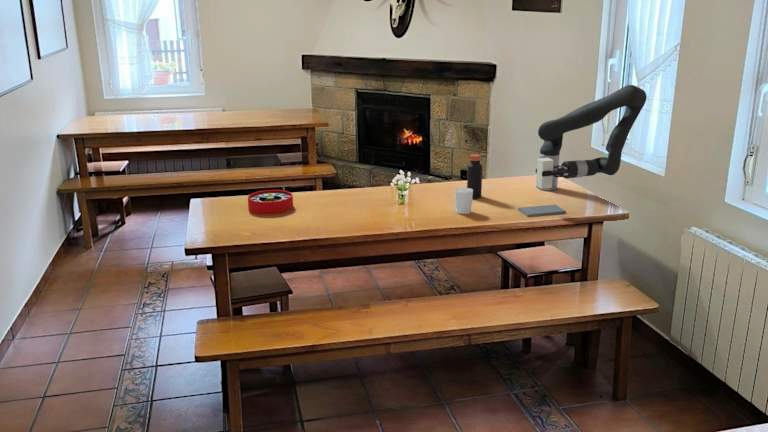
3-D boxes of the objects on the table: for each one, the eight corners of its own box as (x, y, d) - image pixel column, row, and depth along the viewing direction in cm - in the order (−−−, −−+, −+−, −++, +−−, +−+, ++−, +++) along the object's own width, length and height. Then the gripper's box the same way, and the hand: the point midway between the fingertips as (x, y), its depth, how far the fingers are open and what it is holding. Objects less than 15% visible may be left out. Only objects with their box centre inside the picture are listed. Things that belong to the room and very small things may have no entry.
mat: (527, 216, 295) (527, 214, 295) (517, 209, 304) (517, 207, 304) (565, 213, 299) (565, 210, 299) (554, 206, 308) (555, 204, 308)
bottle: (480, 199, 321) (482, 157, 314) (466, 198, 322) (467, 156, 316) (481, 195, 327) (483, 153, 321) (467, 194, 328) (468, 153, 322)
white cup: (474, 210, 305) (474, 188, 302) (470, 215, 298) (470, 193, 294) (456, 208, 307) (457, 187, 304) (452, 213, 300) (452, 191, 297)
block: (541, 188, 295) (543, 161, 291) (535, 185, 300) (537, 158, 296) (551, 187, 296) (553, 160, 293) (546, 184, 301) (547, 157, 297)
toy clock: (278, 204, 297) (238, 199, 304) (279, 217, 299) (239, 212, 306) (300, 192, 315) (262, 188, 322) (301, 204, 317) (263, 200, 324)
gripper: (566, 157, 305) (531, 160, 301) (583, 164, 292) (547, 167, 288) (565, 173, 308) (530, 176, 303) (582, 181, 294) (546, 185, 290)
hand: (539, 172), depth 295 cm, fingers closed on block, 5 cm apart
